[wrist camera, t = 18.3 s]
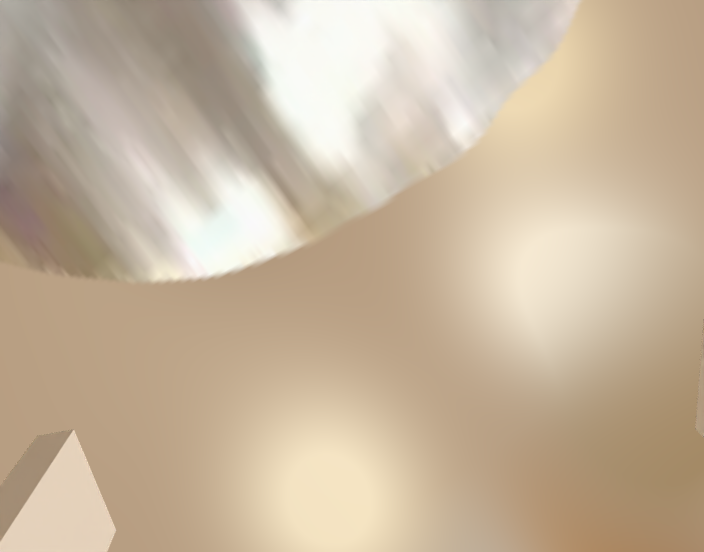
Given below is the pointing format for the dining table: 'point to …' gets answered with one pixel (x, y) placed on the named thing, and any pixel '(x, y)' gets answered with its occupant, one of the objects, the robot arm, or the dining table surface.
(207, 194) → the dining table surface
